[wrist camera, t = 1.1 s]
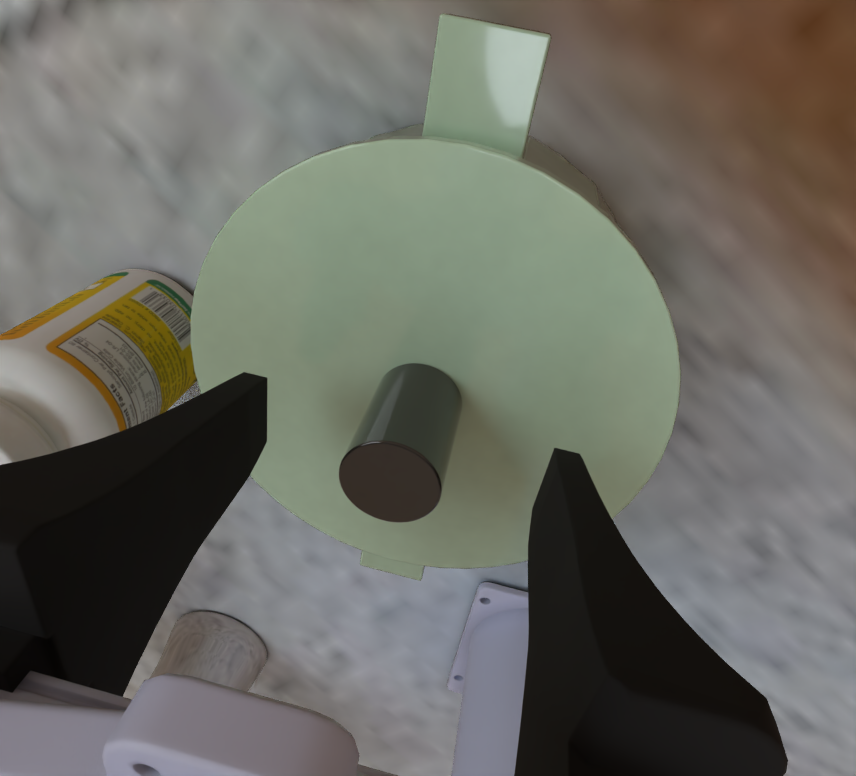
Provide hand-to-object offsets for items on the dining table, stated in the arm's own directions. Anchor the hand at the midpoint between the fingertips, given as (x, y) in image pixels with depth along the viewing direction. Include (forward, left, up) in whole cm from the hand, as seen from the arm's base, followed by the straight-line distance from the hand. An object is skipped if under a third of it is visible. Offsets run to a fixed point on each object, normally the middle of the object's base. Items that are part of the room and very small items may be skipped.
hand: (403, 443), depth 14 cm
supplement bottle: (-4, +12, -9) cm, 15 cm away
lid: (0, 0, -2) cm, 2 cm away
